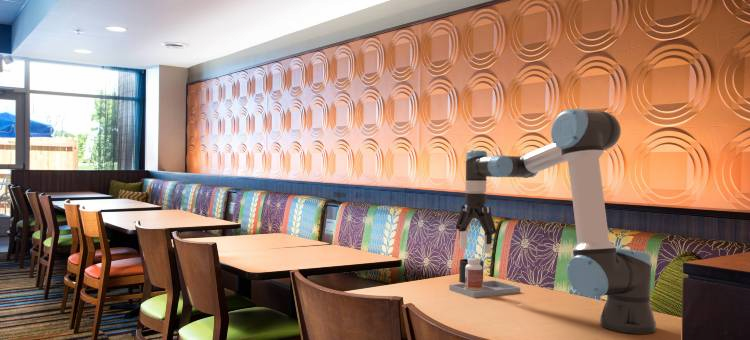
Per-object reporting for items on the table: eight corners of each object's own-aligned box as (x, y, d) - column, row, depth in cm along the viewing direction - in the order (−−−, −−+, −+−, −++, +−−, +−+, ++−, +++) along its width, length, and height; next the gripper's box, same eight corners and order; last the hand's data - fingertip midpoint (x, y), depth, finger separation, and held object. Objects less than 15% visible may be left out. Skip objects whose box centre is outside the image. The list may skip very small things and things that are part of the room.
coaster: (488, 293, 214) (488, 290, 214) (471, 295, 210) (471, 292, 210) (474, 289, 220) (474, 286, 220) (458, 291, 217) (458, 287, 217)
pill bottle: (485, 289, 215) (486, 259, 215) (473, 291, 211) (474, 260, 211) (473, 286, 220) (474, 257, 220) (461, 288, 216) (462, 258, 216)
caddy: (520, 294, 217) (520, 287, 217) (473, 299, 206) (473, 292, 206) (494, 286, 229) (494, 280, 229) (449, 291, 218) (449, 284, 218)
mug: (468, 279, 244) (468, 257, 244) (487, 284, 234) (488, 261, 234) (450, 280, 239) (450, 258, 239) (469, 286, 229) (470, 263, 229)
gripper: (507, 194, 206) (506, 254, 206) (462, 191, 228) (461, 246, 227) (490, 194, 202) (489, 255, 202) (447, 191, 224) (446, 247, 224)
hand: (474, 251), depth 215 cm, fingers open, 13 cm apart
